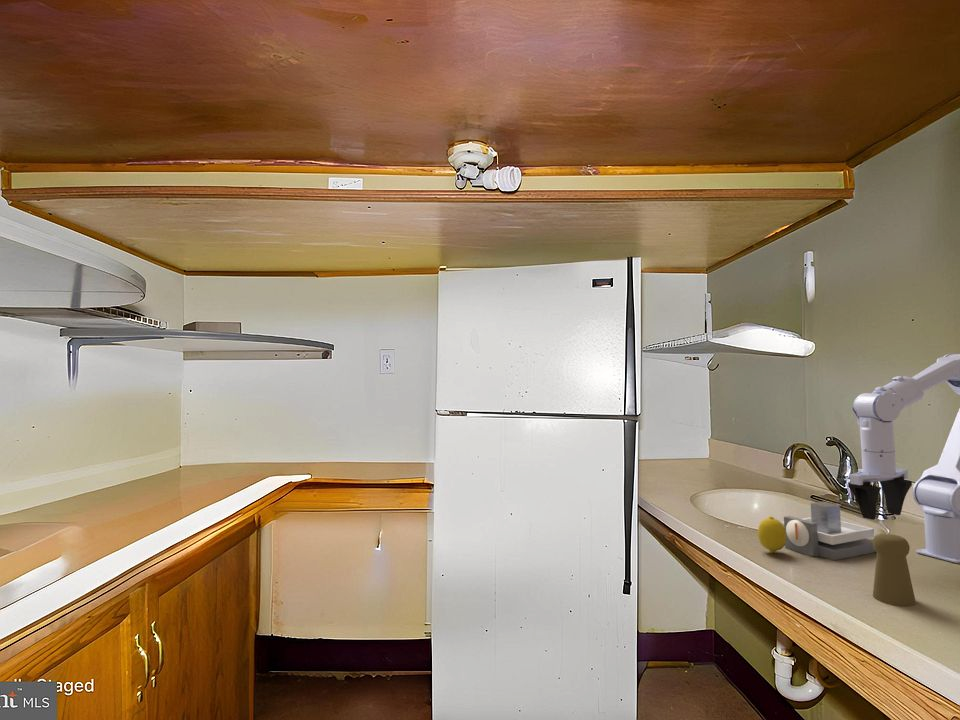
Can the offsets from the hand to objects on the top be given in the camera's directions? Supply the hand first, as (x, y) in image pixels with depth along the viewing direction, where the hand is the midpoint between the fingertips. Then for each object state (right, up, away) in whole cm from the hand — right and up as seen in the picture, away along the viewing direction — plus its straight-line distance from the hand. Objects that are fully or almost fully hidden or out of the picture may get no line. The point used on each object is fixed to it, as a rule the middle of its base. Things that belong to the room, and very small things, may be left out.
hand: (881, 516), depth 114 cm
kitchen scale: (-6, -10, +10) cm, 15 cm away
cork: (-11, -9, -18) cm, 23 cm away
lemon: (-18, -11, +8) cm, 23 cm away
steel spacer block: (-5, -6, +11) cm, 13 cm away
